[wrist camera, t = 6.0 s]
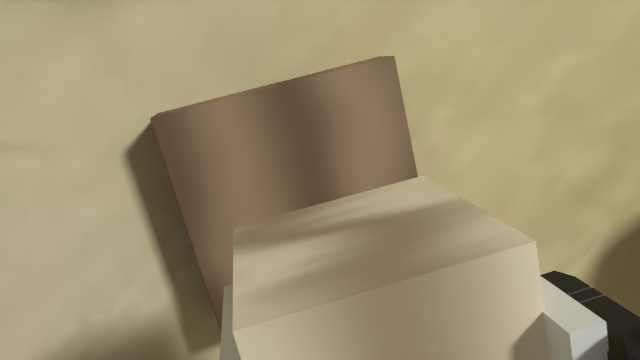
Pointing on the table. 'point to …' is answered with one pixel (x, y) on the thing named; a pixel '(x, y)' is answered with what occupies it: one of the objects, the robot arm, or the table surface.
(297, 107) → the stand
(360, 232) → the cube
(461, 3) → the table surface
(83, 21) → the table surface
